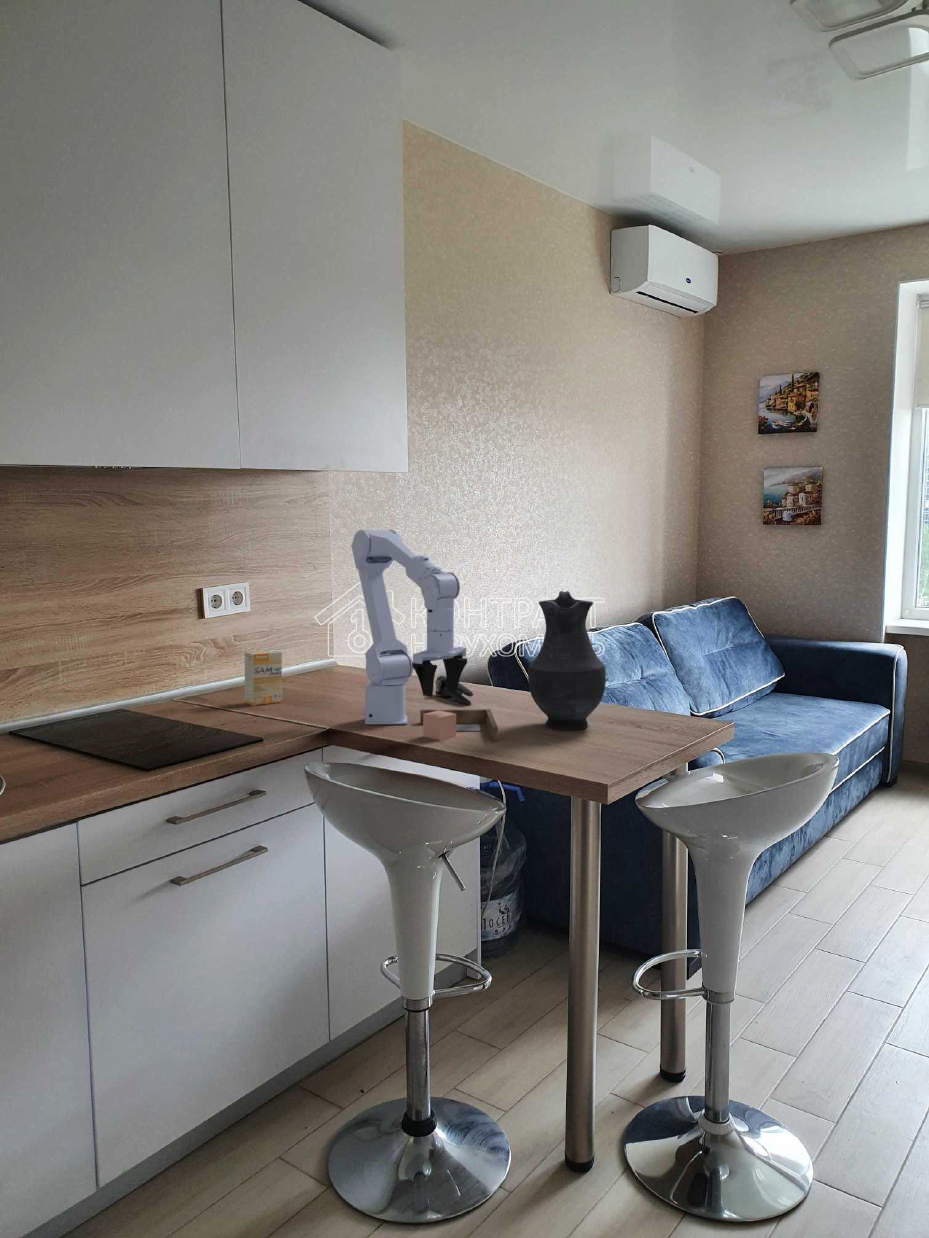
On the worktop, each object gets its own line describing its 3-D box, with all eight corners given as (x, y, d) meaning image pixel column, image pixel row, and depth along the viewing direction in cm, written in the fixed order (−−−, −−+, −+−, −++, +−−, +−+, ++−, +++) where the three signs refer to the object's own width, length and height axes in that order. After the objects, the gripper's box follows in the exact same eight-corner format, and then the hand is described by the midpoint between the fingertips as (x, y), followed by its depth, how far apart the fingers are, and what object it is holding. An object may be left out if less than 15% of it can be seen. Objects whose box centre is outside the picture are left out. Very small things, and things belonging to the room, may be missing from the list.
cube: (440, 740, 195) (440, 717, 194) (423, 736, 198) (423, 713, 198) (456, 736, 199) (456, 713, 198) (439, 733, 202) (439, 710, 201)
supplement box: (253, 706, 228) (252, 653, 227) (244, 703, 232) (243, 651, 231) (283, 702, 233) (282, 651, 232) (274, 699, 237) (273, 648, 236)
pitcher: (528, 734, 201) (530, 596, 198) (526, 713, 222) (528, 589, 219) (608, 735, 200) (612, 597, 197) (598, 715, 221) (601, 589, 218)
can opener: (429, 695, 246) (429, 674, 245) (453, 693, 249) (453, 672, 248) (456, 707, 230) (456, 685, 229) (482, 705, 233) (482, 683, 232)
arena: (421, 741, 193) (421, 727, 193) (420, 722, 212) (420, 709, 211) (497, 741, 194) (497, 727, 194) (490, 722, 213) (490, 709, 212)
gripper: (430, 634, 188) (430, 700, 189) (476, 628, 199) (476, 691, 200) (405, 631, 193) (405, 696, 194) (452, 626, 203) (452, 687, 205)
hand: (439, 693), depth 197 cm, fingers open, 7 cm apart
